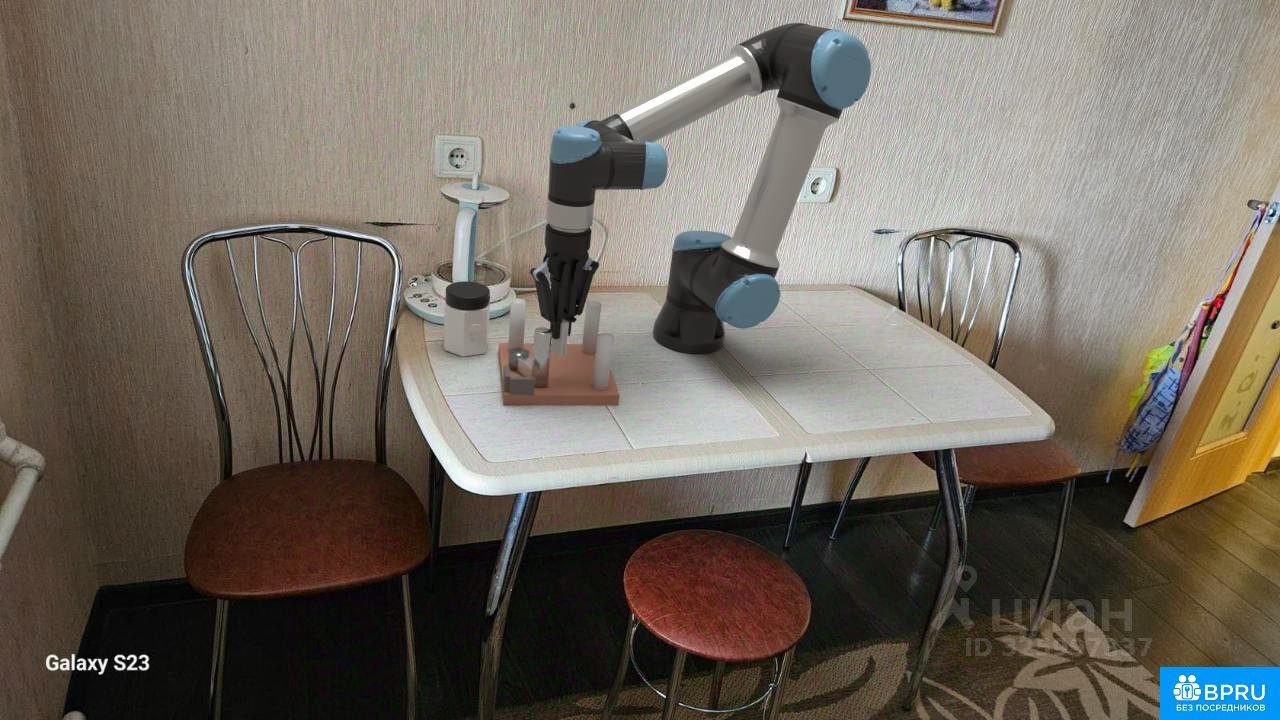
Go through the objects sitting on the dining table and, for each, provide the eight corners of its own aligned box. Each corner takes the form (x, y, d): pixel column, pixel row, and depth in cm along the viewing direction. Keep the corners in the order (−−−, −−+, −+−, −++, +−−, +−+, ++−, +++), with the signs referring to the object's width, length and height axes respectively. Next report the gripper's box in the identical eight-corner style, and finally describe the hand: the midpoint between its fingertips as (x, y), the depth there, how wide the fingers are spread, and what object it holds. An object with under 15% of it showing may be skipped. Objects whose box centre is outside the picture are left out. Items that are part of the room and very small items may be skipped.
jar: (452, 359, 151) (453, 300, 146) (436, 341, 157) (436, 283, 152) (496, 352, 156) (499, 294, 151) (480, 335, 162) (481, 278, 157)
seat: (600, 353, 161) (607, 297, 155) (618, 405, 144) (625, 344, 138) (498, 352, 156) (501, 294, 151) (503, 405, 139) (506, 342, 134)
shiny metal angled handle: (504, 363, 147) (506, 313, 143) (521, 359, 150) (524, 310, 145) (535, 388, 141) (539, 336, 136) (553, 384, 143) (557, 332, 138)
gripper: (586, 213, 139) (574, 337, 150) (523, 222, 131) (516, 352, 142) (613, 227, 134) (600, 354, 145) (550, 237, 126) (540, 370, 137)
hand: (558, 353), depth 143 cm, fingers closed
